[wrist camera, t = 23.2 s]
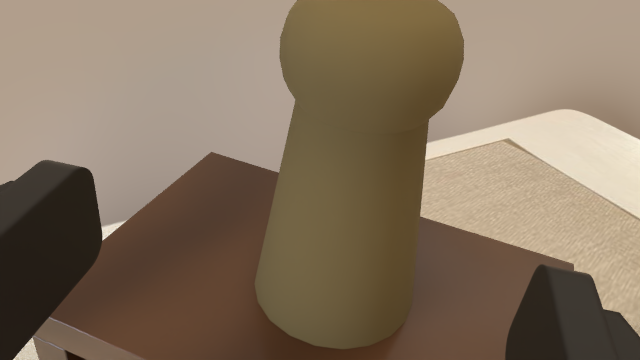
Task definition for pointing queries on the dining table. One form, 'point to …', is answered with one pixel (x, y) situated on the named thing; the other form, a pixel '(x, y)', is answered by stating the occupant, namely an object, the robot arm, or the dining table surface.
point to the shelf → (239, 290)
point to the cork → (354, 165)
